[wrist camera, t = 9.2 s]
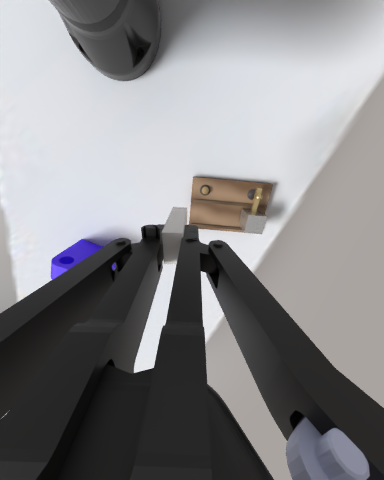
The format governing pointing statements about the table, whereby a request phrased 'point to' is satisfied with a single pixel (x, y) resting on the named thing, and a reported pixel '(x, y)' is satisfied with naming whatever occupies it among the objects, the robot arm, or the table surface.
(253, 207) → the slider with brass pointer
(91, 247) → the bracket
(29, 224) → the table surface
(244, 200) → the wooden knob panel
